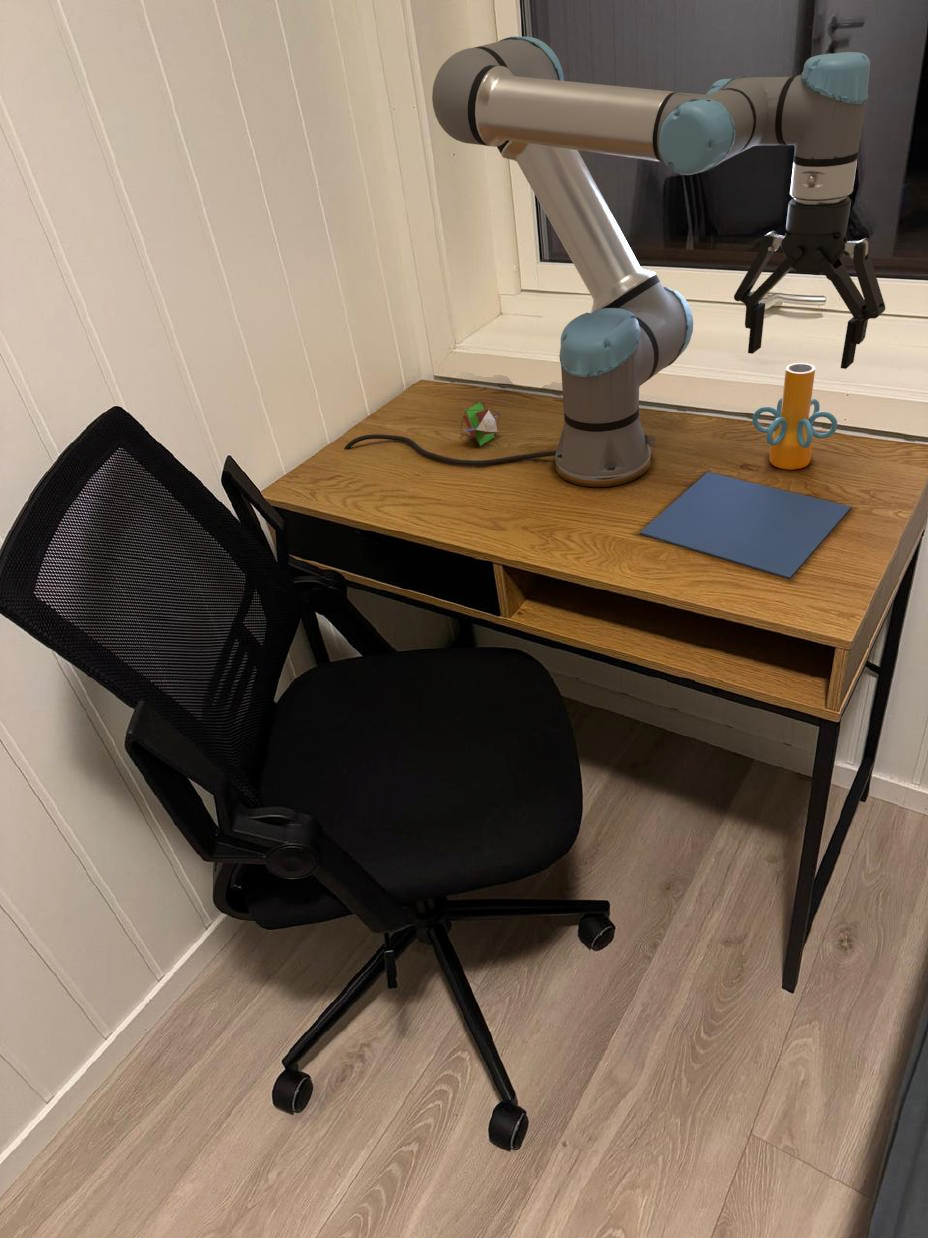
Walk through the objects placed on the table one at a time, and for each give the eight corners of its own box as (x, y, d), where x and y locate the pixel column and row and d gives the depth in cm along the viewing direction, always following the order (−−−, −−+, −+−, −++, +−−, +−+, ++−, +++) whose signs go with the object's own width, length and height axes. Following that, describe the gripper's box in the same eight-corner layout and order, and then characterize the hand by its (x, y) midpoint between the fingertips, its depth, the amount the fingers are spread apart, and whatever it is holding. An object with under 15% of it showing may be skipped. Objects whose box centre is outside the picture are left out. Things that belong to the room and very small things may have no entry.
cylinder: (742, 449, 137) (749, 358, 128) (806, 439, 137) (818, 348, 128) (770, 484, 128) (780, 389, 119) (839, 474, 128) (854, 378, 119)
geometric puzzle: (445, 431, 151) (461, 402, 145) (470, 415, 155) (487, 386, 149) (473, 460, 151) (490, 432, 144) (497, 443, 155) (515, 416, 148)
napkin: (639, 533, 121) (639, 532, 121) (707, 473, 133) (707, 471, 132) (789, 579, 109) (790, 577, 109) (851, 508, 120) (851, 506, 120)
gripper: (716, 199, 115) (707, 353, 128) (912, 210, 101) (878, 382, 113) (742, 185, 119) (730, 336, 132) (933, 194, 105) (899, 361, 118)
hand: (799, 357), depth 123 cm, fingers open, 13 cm apart
